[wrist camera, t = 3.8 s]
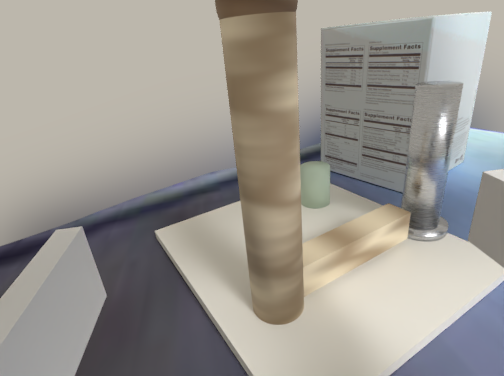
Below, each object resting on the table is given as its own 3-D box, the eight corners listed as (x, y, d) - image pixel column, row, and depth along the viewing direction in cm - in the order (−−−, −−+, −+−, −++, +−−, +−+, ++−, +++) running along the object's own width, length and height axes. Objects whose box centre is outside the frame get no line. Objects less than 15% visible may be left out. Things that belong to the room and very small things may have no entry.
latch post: (316, 192, 36) (316, 159, 34) (335, 202, 34) (336, 166, 32) (294, 201, 35) (293, 166, 33) (313, 211, 32) (313, 174, 31)
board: (311, 181, 41) (311, 175, 41) (515, 271, 24) (517, 262, 23) (156, 237, 32) (154, 230, 32) (298, 450, 15) (298, 440, 14)
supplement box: (374, 144, 52) (383, 21, 45) (465, 162, 42) (495, 9, 35) (318, 168, 45) (317, 27, 37) (411, 197, 35) (435, 14, 28)
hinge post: (410, 209, 31) (428, 78, 26) (458, 228, 28) (488, 81, 23) (379, 225, 29) (392, 86, 24) (426, 248, 26) (452, 91, 21)
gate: (377, 230, 28) (400, -34, 20) (415, 249, 26) (459, -49, 17) (241, 300, 22) (196, -39, 14) (271, 335, 19) (236, -65, 11)
